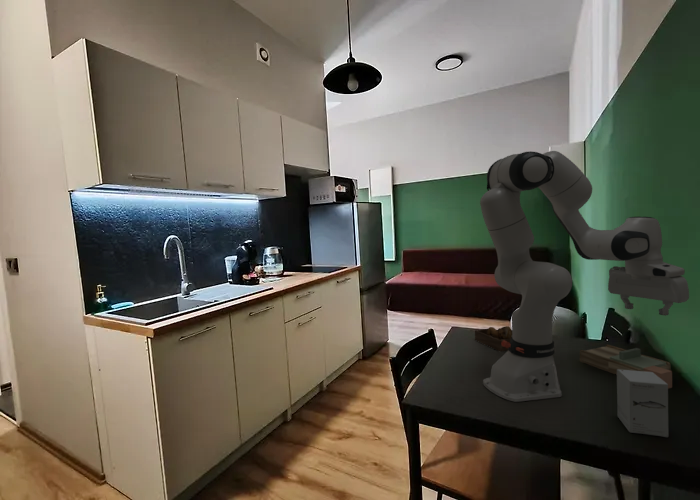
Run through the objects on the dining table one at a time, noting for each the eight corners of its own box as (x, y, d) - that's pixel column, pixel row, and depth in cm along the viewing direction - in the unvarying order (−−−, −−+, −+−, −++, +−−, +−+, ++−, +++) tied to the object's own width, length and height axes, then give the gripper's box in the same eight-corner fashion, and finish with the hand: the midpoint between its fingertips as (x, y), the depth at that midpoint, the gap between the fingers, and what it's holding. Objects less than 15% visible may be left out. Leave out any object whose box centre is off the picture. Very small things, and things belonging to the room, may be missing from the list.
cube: (661, 390, 95) (661, 373, 95) (643, 384, 99) (643, 368, 99) (672, 387, 96) (671, 371, 96) (654, 381, 100) (653, 365, 100)
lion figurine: (516, 347, 134) (515, 326, 134) (507, 350, 132) (506, 328, 131) (487, 338, 147) (486, 319, 147) (478, 341, 145) (478, 321, 145)
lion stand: (500, 351, 131) (499, 340, 131) (475, 340, 146) (474, 330, 146) (515, 348, 133) (515, 337, 133) (489, 337, 148) (489, 328, 148)
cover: (643, 370, 100) (643, 360, 100) (609, 359, 110) (609, 349, 109) (666, 365, 103) (666, 355, 103) (631, 354, 112) (630, 345, 112)
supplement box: (629, 433, 77) (628, 380, 76) (616, 416, 84) (615, 368, 83) (670, 438, 74) (669, 384, 73) (653, 420, 81) (652, 370, 80)
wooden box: (639, 383, 100) (639, 370, 99) (579, 361, 118) (579, 350, 118) (670, 375, 103) (670, 362, 103) (608, 355, 122) (608, 344, 122)
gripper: (602, 266, 111) (604, 306, 112) (676, 272, 92) (678, 320, 92) (615, 264, 113) (617, 304, 114) (691, 269, 93) (693, 317, 94)
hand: (645, 311), depth 103 cm, fingers open, 8 cm apart
